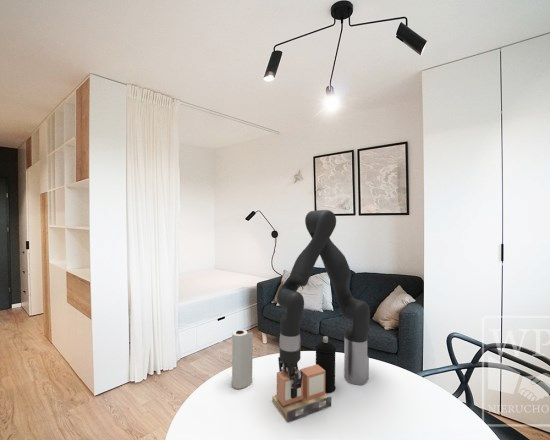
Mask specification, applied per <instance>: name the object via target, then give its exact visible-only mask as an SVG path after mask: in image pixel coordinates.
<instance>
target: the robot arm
mask: <svg viewBox="0 0 550 440" xmlns="http://www.w3.org/2000/svg"><path fill="white" fill-rule="evenodd" d="M304 222H305V223H304V224H305V228H306V230H307V232H308V234H309V236H310V237H311V240H310V242H309V243H308V244H307V245H306V247H305V248H304V249H303V250H301V253H299V254H298V255H297V257H296V260H295V262H294V264H293V267H292V269H291V271H290V273H289V276H288V278H286V279H285V281H284V282H283V284H282V285H281V287H280V288H279V290H278V292H277V296H276V297H277V298H276V301H277V304H278V305H279V306H280V307H282V308H283V309H285V310H286V314H285V315H283V316H281V317H280V333H279V334H280V335H279V357H278V359H277V361H278V370H279V371H278V372H280V371H283V372H286V373H287V374H288V377H289V381H291V398H292V399H293V398H296V397H297V389H298V388H301V384H302V378H303V373H302V372H299V371H300V370H299V367H298V363H299V361H300V360H301V353H302V352H301V348H302V347H301V342H302V341H301V319H302V317H303V312H304V308H305V299H304V296H303V294H302V293H301V292H299V291H298V290H299V288H301V287H305V286H307V285H308V283H309V280H310V279H311V275H312V272H313V270H314V267H315V265H316V263H317V261H318V259H319V257H320V259H321V262H322V263H323V266H324V269H325V271H326V274H327V276H328V279H329V280H330V283H331V285H332V288H333V290H334V294H335V296H336V299H337V303H338V308H339V311H340V313H341V315H342V317H343V318H345V319H346V320H348V321H349V322H350V321H351V322H352V327H347V328H345V330H344V341H343V342H344V346H343V347H344V349H343V350H344V354H343V355H344V358H343V359H344V362H343V364H344V369H343V370H344V373H343V377H344V379H345V381H346V382H348V383H350V384H351V385H357V386H362V385H365V384H366V383H367V382H368V380H369V379H370V377H369V376H370V357H369V356H368V335H369V332H370V321H371V309H370V306H369V305H368V303H367V302H365V301H362V300H359V299H357V298H355V297H354V296H353V295H352V292H351V290H350V286H349V285H350V281H351V276H352V272H351V269H350V266H349V263H348V260H347V258H346V256H345V254H344V253H343V252H342V251H341V250H340V249H339V247H337V246H336V245H335V244H334V242H333V241H332V240H331V236H332V234H333V232H334V230H335V229H336V227H337V218H336V214H335V212H333V211H331V210H329V209H319V210H317V209H316V210H310V211H309V212H307V214H306V215H305V219H304ZM298 370H299V371H298ZM291 376H294V378H291ZM293 380H294V384H293Z"/></svg>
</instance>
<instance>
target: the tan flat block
mask: <svg viewBox="0 0 550 440" xmlns="http://www.w3.org/2000/svg"><path fill="white" fill-rule="evenodd" d="M271 402H272V403H273V405H274V406H275V408H276V409H277V410H278V411H279V413H280V415H281V416H282V417H283V419H284V420H285V421H286V423H290V422H293V421H296V420H298V419H301V418H303V417H307V416H309V415H312V414H314V413H317V412H320V411H323V410H325V409H328V408H330V407H332V396H327V395H326V394H325V395H323V396H321V397H318V398H315V399H312V400H309V401H306V399H305V398H304V397H303V399H302V400H299V401H296V402H293V403H290V404H287V405H284V406H283V405H282V404H281V402H280V401H279V400H278V399H277V394H275V395H272V397H271Z"/></svg>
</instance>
